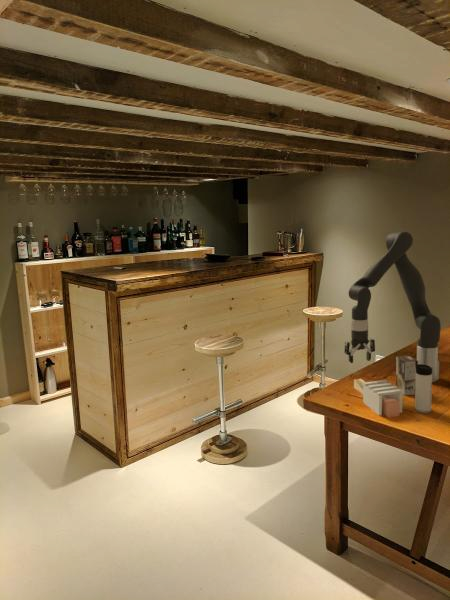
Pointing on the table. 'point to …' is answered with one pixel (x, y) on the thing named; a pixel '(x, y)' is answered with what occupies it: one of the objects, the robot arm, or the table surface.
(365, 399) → the tunnel
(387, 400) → the block
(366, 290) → the robot arm
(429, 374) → the travel mug
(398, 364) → the coffee box
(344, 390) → the table surface
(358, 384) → the rod
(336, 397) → the table surface
